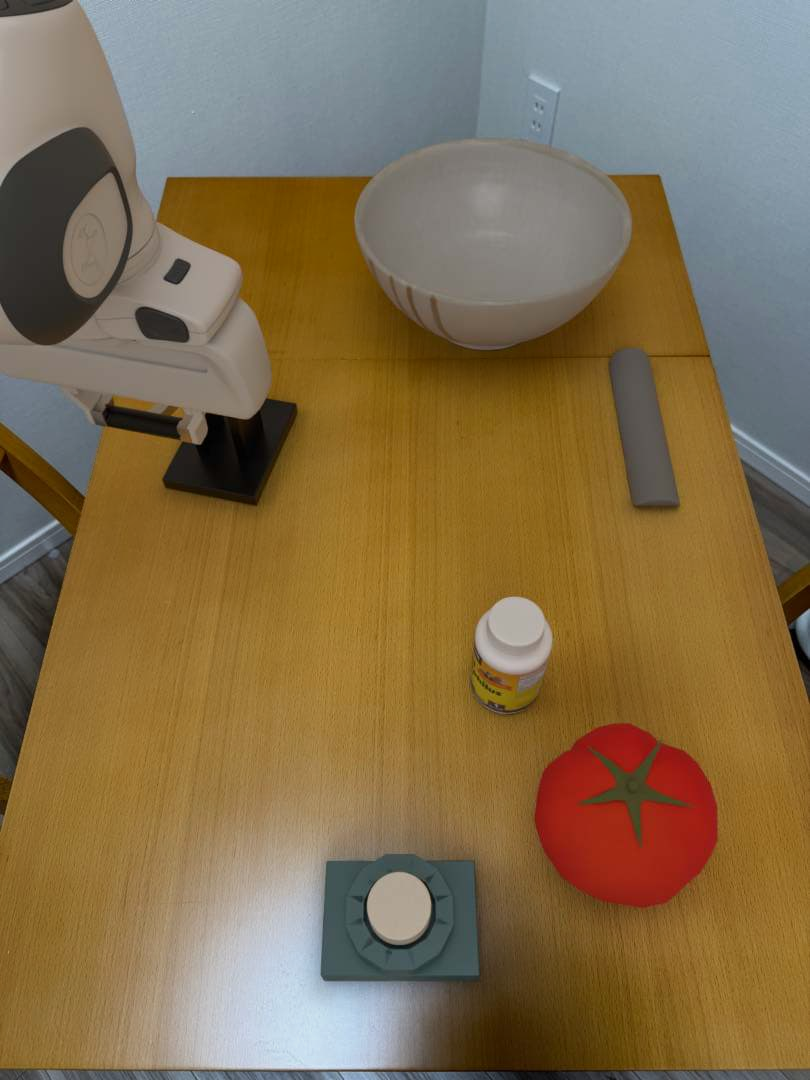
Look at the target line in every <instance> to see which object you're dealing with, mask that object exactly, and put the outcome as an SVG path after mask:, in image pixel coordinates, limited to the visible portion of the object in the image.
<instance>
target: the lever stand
mask: <svg viewBox="0 0 810 1080" xmlns="http://www.w3.org/2000/svg"><path fill="white" fill-rule="evenodd" d="M297 415H298V406H297V403H296V402H291V401H285V400H278V399H275V398H274V399H273V398H268V397H266V399H265V401H264V403H263V405H262V406H261V408H260V409H259V410H258V412H257V413H256V414H255V415H254V416H252V417H251V418H250V419H239V418H234V417H229V416H224V415H218V414H213V413H207V412H206V414H205V419H206V423H207V427H208V431H207V435H206V436H205V438H204V440H203V442H202V444H200V445H198V444H193V443H188V442H183V441H181V443H180V445H179V447H178V448H177V450H176V452H175V454H174V456H173V458H172V460H171V462H170V463H169V466H168V467H167V469H166V471H165V473H164V475H163V477H162V479H161V480H162V481H161V482H162V483H163V486H164V488H166V489H169V490H175V491H179V492H185V493H190V494H195V495H199V496H206V497H210V498H215V499H221V500H226V501H231V502H235V503H240V504H245V505H250V506H257V505H258V502H259V501H260V498H261V496H262V494H263V491H264V489H265V487H266V485H267V482H268V480H269V478H270V476H271V473H272V472H273V469H274V466H275V464H276V463H277V460H278V457H279V455H280V453H281V451H282V449H283V446H284V444H285V442H286V439H287V438H288V435H289V433H290V431H291V428H292V426H293V424H294V421H295V420H296V417H297Z"/></svg>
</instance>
